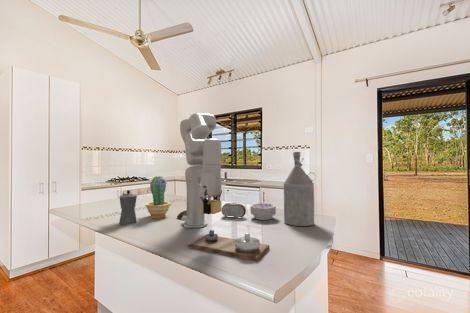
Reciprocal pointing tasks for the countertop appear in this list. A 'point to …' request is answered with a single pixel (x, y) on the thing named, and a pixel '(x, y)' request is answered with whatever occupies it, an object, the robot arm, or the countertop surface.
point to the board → (227, 248)
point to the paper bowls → (263, 211)
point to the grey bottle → (298, 196)
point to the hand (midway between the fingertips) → (211, 211)
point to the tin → (233, 210)
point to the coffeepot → (128, 209)
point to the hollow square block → (213, 206)
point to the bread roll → (182, 214)
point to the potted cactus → (158, 198)
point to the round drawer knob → (211, 236)
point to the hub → (247, 244)
